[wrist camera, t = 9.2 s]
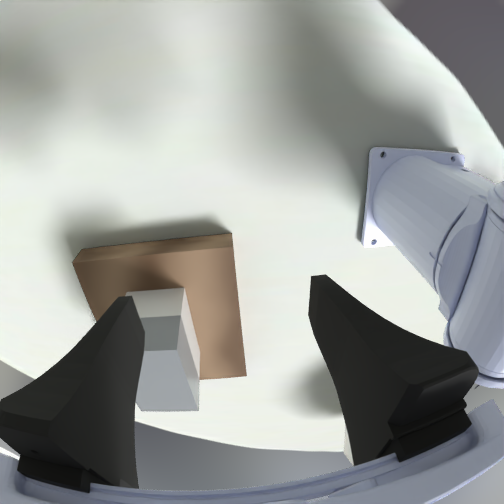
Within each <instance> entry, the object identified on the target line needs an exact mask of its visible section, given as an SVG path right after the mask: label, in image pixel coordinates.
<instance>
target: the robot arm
mask: <svg viewBox="0 0 504 504" xmlns="http://www.w3.org/2000/svg"><path fill="white" fill-rule="evenodd" d="M382 152H384V156H383V157H381V156H380V155H381V153H382ZM451 157H452V160H451ZM464 161H465V158H464V155H463V154H460V153H454V152H444V151H433V150H421V149H406V148H387V147H373V148H372V149H371V150H370V153H369V167H368V181H367V193H366V204H365V213H364V223H363V231H362V239H361V243H362V245H363V246H364V247H365V248H371V247H380V246H390V245H395V246H396V247H397V249H398V250H399V251H400V252H401V253H402V254H403V255H404V256H405V257H406V258H407V259H408V260H409V262H410V263H411V264H412V265H413V266H414V267H415V268H416V269H417V270H418V272H419V273H420V274H421V275H422V276H423V277H424V278H425V280H426V281H427V282H428V283H429V284H430V285H431V287H432V288H433V289H434V290H435V291H436V292H437V294H438V295H439V297H440V305H439V310H440V312H441V313H442V314H443V315H444V317H445V318H446V319H447V321H448V323H447V325H446V327H445V331H444V340H443V341H444V345H441V344H438V343H435V342H433V341H430V340H427V339H425V338H422V337H420V336H417V335H415V334H413V333H411V332H409V331H406V330H404V329H402V328H400V327H399V326H397V325H395V324H393V323H391V322H390V321H388V320H386V319H384V318H383V317H381V316H380V315H378V314H377V313H375V312H374V311H372V310H371V309H369V308H368V307H366V306H365V305H364V304H362V303H361V302H360V301H358V300H357V299H356V298H354V297H353V296H352V295H350V294H349V293H348V292H347V291H345V290H344V289H343V288H342V287H341V286H339V285H338V284H337V283H336V282H334V281H333V280H332V279H331V278H329V277H328V276H327V275H326V274H325V275H318V276H311V286H310V299H309V312H308V316H309V319H310V323H311V327H312V330H313V333H314V336H315V339H316V341H317V343H318V346H319V348H320V350H321V353H322V355H323V357H324V360H325V362H326V364H327V367H328V369H329V371H330V374H331V376H332V378H333V381H334V384H335V387H336V390H337V394H338V397H339V401H340V404H341V408H342V412H343V416H344V420H345V424H346V428H347V433H348V437H349V442H350V447H351V452H352V458H353V464H354V466H353V467H350V468H346V469H343V470H339V471H335V472H331V473H328V474H324V475H319V476H315V477H310V478H306V479H300V480H295V481H290V482H284V483H278V484H272V485H264V486H257V487H247V488H237V489H226V490H206V491H205V490H204V491H168V490H166V491H165V490H147V489H139V486H138V478H137V471H136V459H135V439H134V420H135V402H136V395H137V389H138V383H139V378H140V372H141V367H142V361H143V356H144V345H145V330H144V328H143V325H142V322H141V320H140V317H139V314H138V311H137V309H136V306H135V303H134V300H133V297H132V296H122V297H118V298H117V299H116V300H115V301H114V302H113V303H112V304H111V306H110V307H109V308H108V309H107V310H106V312H105V313H104V314H103V315H102V316H101V317H100V319H99V320H98V321H97V322H96V323H95V325H94V326H93V327H92V328H91V329H90V330H89V331H88V333H87V334H86V335H85V336H84V337H83V338H82V339H81V340H80V341H79V342H78V343H77V345H76V346H75V347H74V348H73V349H72V350H71V351H70V352H69V353H68V354H66V355H65V356H64V357H63V358H62V359H61V360H60V361H59V362H58V363H56V364H55V365H54V366H53V367H51V368H50V369H49V370H48V371H46V372H45V373H44V374H43V375H41V376H40V377H38V378H37V379H36V380H34V381H33V382H31V383H30V384H28V385H26V386H25V387H23V388H22V389H20V390H18V391H16V392H14V393H13V394H11V395H9V396H7V397H5V398H3V399H1V401H0V438H1V439H2V440H3V441H4V442H6V443H7V444H8V445H9V446H10V447H12V448H13V449H14V450H15V451H16V452H18V453H19V454H20V459H19V460H17V459H15V458H13V457H11V456H8V455H5V454H2V453H0V504H432V503H434V502H436V501H438V500H440V499H442V498H444V497H445V496H447V495H449V494H451V493H453V492H454V491H456V490H458V489H459V488H461V487H462V486H464V485H466V484H468V483H469V482H471V481H472V480H474V479H475V478H477V477H478V476H480V475H481V474H483V473H484V472H485V471H487V470H489V469H490V468H491V467H493V466H494V465H495V464H497V463H498V462H499V461H500V460H502V459H503V458H504V416H503V415H502V413H501V411H500V410H499V408H498V406H497V405H496V403H495V402H494V400H493V399H491V400H489V401H487V402H486V403H484V404H482V405H480V406H479V407H477V408H475V409H474V410H472V411H471V412H470V413H468V414H466V412H465V410H464V408H466V406H467V404H466V402H465V401H464V399H463V398H464V396H465V395H466V394H467V392H468V391H469V390H470V388H471V387H472V385H473V384H474V383H476V384H479V385H481V386H485V387H489V388H502V389H504V181H502V182H500V183H499V184H496V183H494V182H493V181H491V180H489V179H487V178H485V177H483V176H481V175H479V174H477V173H475V172H473V171H471V170H469V169H467V168H465V167H464ZM373 239H375V240H374V242H372V243H371V241H372V240H373ZM326 495H329V496H328V498H326V499H321V500H315V501H309V502H307V501H305V500H310V499H314V498H319V497H323V496H326Z"/></svg>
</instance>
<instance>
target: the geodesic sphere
mask: <svg viewBox="0 0 504 504" xmlns="http://www.w3.org/2000/svg"><path fill="white" fill-rule="evenodd" d="M344 454H345V455H346V457H347V458H348V460H349V461H350V462H351V464H352V465H353V466H354V464H353V458H352V452H351V447H350V442H349V437H348V433H347V428H346V424H345V441H344Z"/></svg>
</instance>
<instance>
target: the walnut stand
mask: <svg viewBox="0 0 504 504" xmlns="http://www.w3.org/2000/svg"><path fill="white" fill-rule="evenodd" d="M72 263H73V266H74V269H75V271H76V274H77V277H78V279H79V282H80V284H81V287H82V289H83V292H84V294H85V296H86V299H87V301H88V303H89V306H90V308H91V310H92V313H93V315H94V317H95V319H96V321H98V320H99V319H100V317H101V316H102V315H103V314H104V313H105V312H106V310H107V309H108V308H109V307H110V306H111V304H112V303H113V302H114V301H115V300H116V299H117V298H118V297H122V296H125V295H126V293H127V292H134V291H148V290H161V289H173V288H185V292H186V296H187V301H188V305H189V309H190V314H191V318H192V322H193V326H194V330H195V334H196V338H197V342H198V346H199V350H200V375H199V380H204V379H219V378H231V377H242V376H247V375H246V365H245V356H244V347H243V338H242V329H241V320H240V310H239V301H238V291H237V281H236V271H235V261H234V250H233V240H232V233H229V234H219V235H209V236H198V237H188V238H179V239H169V240H160V241H150V242H141V243H132V244H123V245H114V246H105V247H97V248H88V249H82V250H81V251H80V252H79V254H78V255H77V257H76V258H75V259H74V261H73V262H72Z"/></svg>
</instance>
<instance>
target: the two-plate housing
mask: <svg viewBox="0 0 504 504" xmlns="http://www.w3.org/2000/svg"><path fill="white" fill-rule="evenodd" d="M125 296H132V297H133V300H134V303H135V306H136V309H137V311H138V314H139V317H140V320H141V322H142V325H143V328H144V330H145V345H144V356H143V361H142V367H141V372H140V378H139V383H138V389H137V395H136V403H137V405H138V407H139V408H140V410H141V411H199V375H200V350H199V346H198V342H197V338H196V334H195V330H194V326H193V322H192V318H191V314H190V309H189V305H188V301H187V296H186V292H185V288H173V289H161V290H148V291H134V292H127V293H126V295H125Z"/></svg>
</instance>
